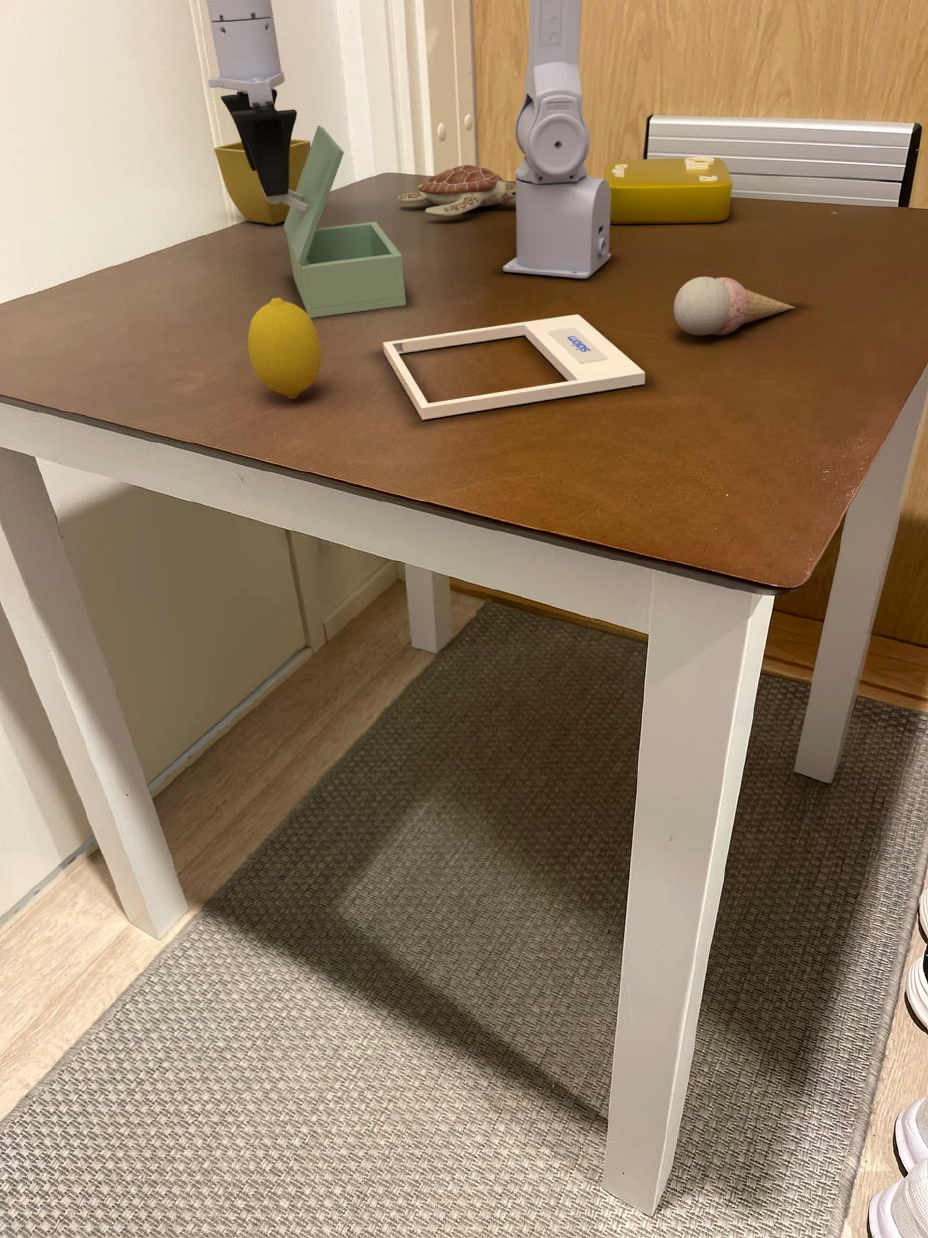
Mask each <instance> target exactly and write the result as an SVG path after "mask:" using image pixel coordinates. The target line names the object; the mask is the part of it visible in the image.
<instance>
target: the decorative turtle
mask: <svg viewBox="0 0 928 1238" xmlns="http://www.w3.org/2000/svg"><path fill="white" fill-rule="evenodd" d="M417 189H418V191H411V192H406V193H401V194H399V195H398V197H397V199H398V201H399V202H401V203H407V204H412V203H418V202H422V201H431V202H432V203H434V204H435V205H436V206H431V207H427V208H425V211H424V213H425V214H426V215H429V216H436V217H454V216H458V215H462V214H464V213H467V212H469V211H472V210H474V209H477V208H480V207H489V206H496V205H504V206H512V205H516V182H515V183H514V182H509V181H506V180H505V181H504V180H503V178H502V176H500V175H499V174H497V173H495V172H494V171H492V170H490V169H488V168H485V167H479V166H476V165H470V164H464V165H459V166H455V167H453V168H449V169H447V170H445V171H442V172H440V173H438V174H436V175H433V176H431V177H430V178H429V179H427V180H426V181H425V182H424V183H422V184H419V185H418V186H417ZM437 205H438V206H437Z"/></svg>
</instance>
